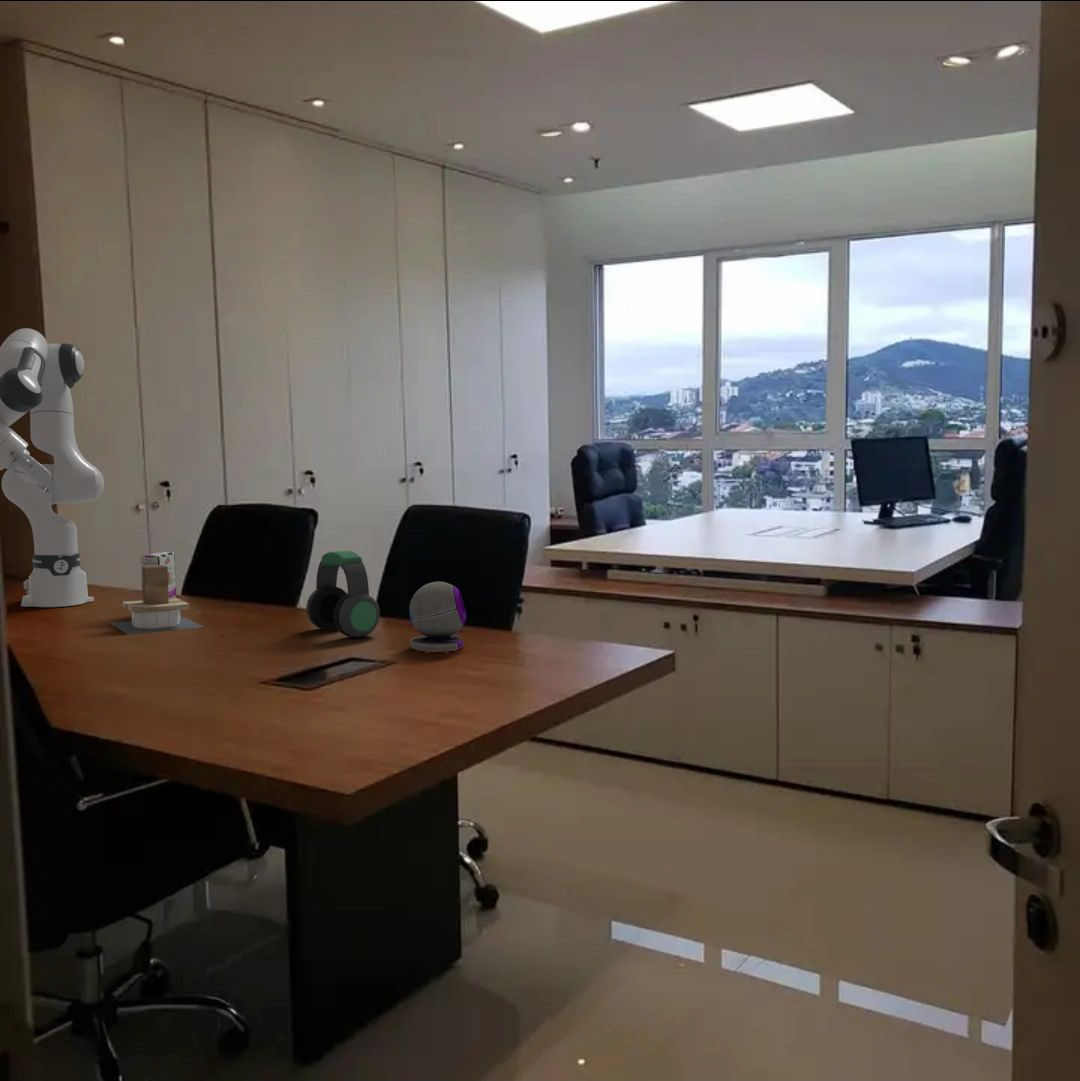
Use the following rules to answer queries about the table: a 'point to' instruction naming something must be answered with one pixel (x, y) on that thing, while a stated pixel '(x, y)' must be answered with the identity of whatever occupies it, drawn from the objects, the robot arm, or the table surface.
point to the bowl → (156, 619)
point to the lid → (155, 593)
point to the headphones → (343, 597)
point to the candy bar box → (166, 560)
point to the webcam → (437, 617)
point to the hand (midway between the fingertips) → (54, 492)
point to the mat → (129, 629)
